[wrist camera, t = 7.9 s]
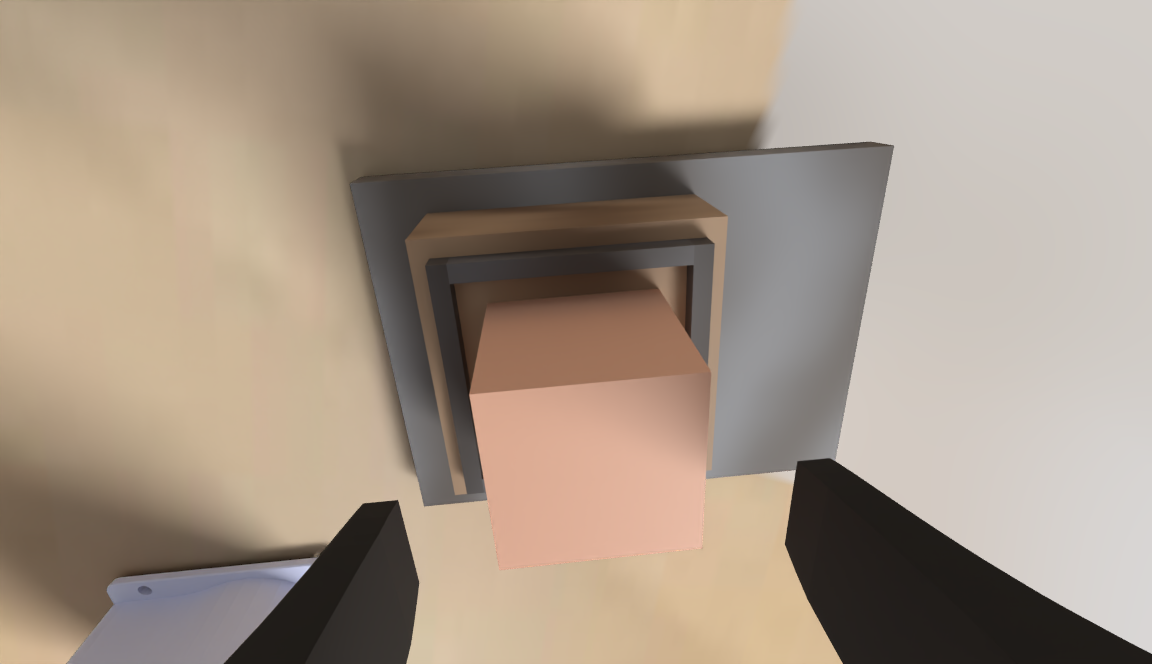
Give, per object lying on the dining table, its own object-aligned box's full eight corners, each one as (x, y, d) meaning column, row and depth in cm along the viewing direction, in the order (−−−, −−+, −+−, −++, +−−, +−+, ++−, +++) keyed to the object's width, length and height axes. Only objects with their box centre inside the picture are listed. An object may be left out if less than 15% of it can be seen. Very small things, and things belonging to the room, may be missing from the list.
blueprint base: (429, 484, 21) (404, 587, 17) (361, 177, 16) (300, 210, 12) (819, 447, 22) (889, 535, 18) (871, 141, 17) (987, 161, 13)
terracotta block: (507, 444, 16) (499, 570, 12) (487, 303, 14) (469, 394, 10) (658, 429, 16) (702, 547, 12) (658, 288, 14) (711, 371, 10)
